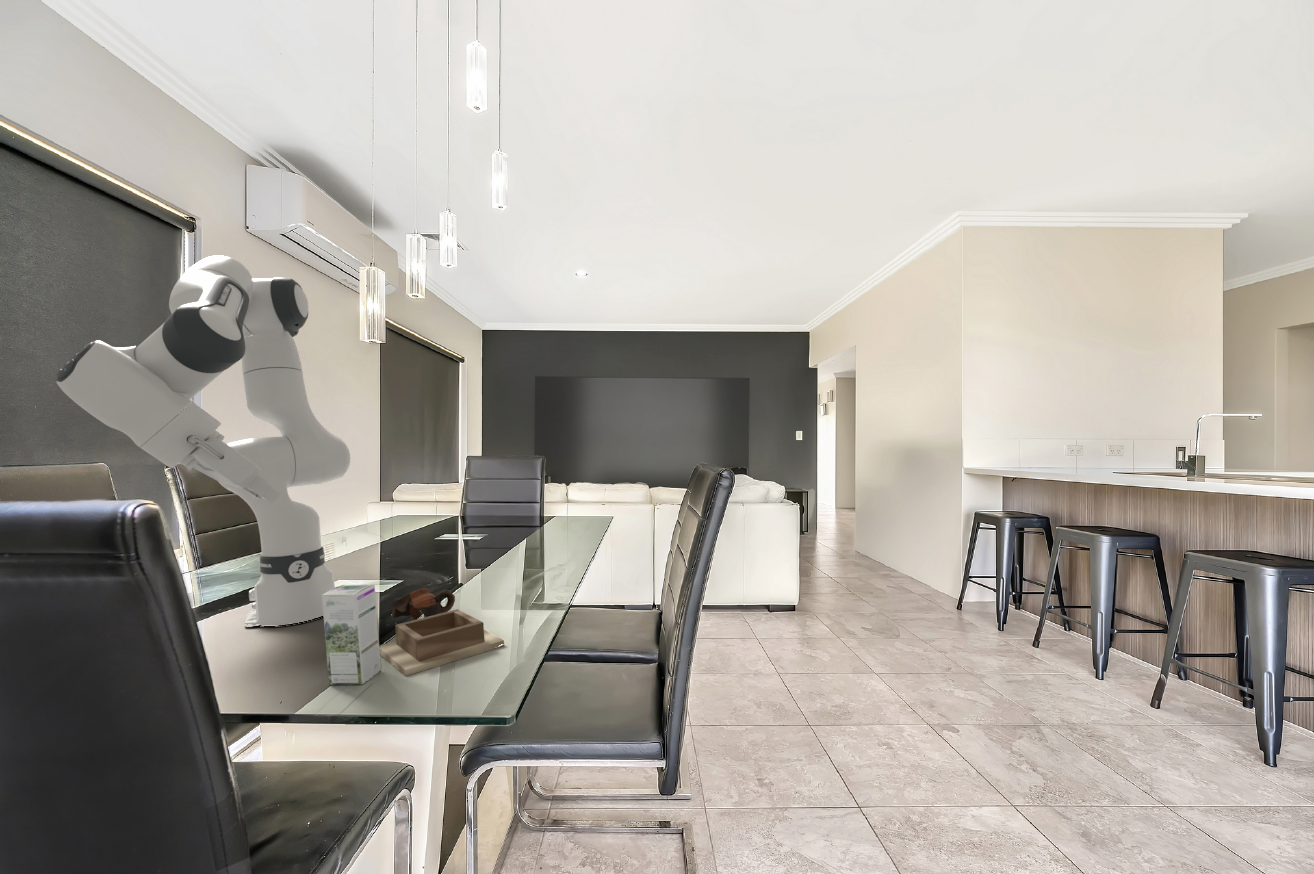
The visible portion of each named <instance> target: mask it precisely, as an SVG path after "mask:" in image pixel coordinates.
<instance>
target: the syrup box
mask: <svg viewBox="0 0 1314 874" xmlns="http://www.w3.org/2000/svg"><path fill="white" fill-rule="evenodd" d="M322 603H323V615H324V616H323V626H324V637H325V638H324V639H325V651H326V662H327V663H326V664H327V676H328V685H331V686H334V685H341V686H343V685H348V686H349V685H353V686H355V685H356V686H357V685H364V684H365V683H367V682H368V681H369V680H371V679H372V678H373V677H374V675H375V676H376V675H377V674H379V671H380V672H381V670H382V664H381V655H380V652H379V646H380V641H379V639H380V638H379V626H378V612H377V596H376V585H375V584H373V583H371V584H370V583H369V584H342V585H339V586H335V588H333V589H331V590H329V591H328V592H326V593H325V594H322ZM370 678H371V679H370ZM366 681H367V682H366Z"/></svg>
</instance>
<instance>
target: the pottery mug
mask: <svg viewBox="0 0 1314 874" xmlns="http://www.w3.org/2000/svg"><path fill="white" fill-rule="evenodd" d="M444 598H446V599H447V601H446V604H445V606H443V605H442V601H443V599H444ZM410 602H411V603H410ZM455 602H456V596H455V595H454V594H453V592H452V591H451V590H449V589H444V590H440V591H439V592H436V593H430V592H429V590H428V588H426V587H423V588H419V589H417V590H413V591H411V592H410V593H407V594H406V595H403V596H402V597H400V598H398V599H396V600H395V601H394V602H393V603H392V604H391V605H390V606H391V608H392V613H391V618H392V619H395V618H399V617H409V616H410V617H411V618H412V619H413V620H417V619H420V617H421V618H422V614H423V618H425V617H429V616H433V615H437V614H441V613H445V612H449V611H451V610H452V608H453V606H454V604H455Z"/></svg>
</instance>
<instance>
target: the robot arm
mask: <svg viewBox="0 0 1314 874" xmlns="http://www.w3.org/2000/svg"><path fill="white" fill-rule="evenodd" d="M168 301H169V302H168V307H169V310H170V315H169V316H168V317H167V319H166V320H165V321H164V322H163V323H162V324H161V325H160V326H159V327H158V328H157V329H156V330H155V331H153V332H152V333H151V334H150V335H149V336H148V337H146V338H145V339H144V340H143V341H142V342H141V343H139V345H137V346H136V345H134V346H133V345H132V346H125V347H115V346H112V345H110V344H108V343H107V342H104V341H102V340H98V339H96V340H93V341H90V342H89V343H87V344H85V345H84V346H82V347H81V348H80V349H79V350H78V351H77V352H76V353H75V354H74V355H73V356H72V357H71V358H70V359H69V360H68V361H67V362H66V363H65V364H64V365H63V366H62V367H61V368H60V369H59V370H58V372H57V374H56V384H57V386H58V387H59V389H61V391H62V392H63V393H64V394H65V395H66V396H67V397H68V398H69V399H70V400H72V401H73V402H74V403H75V404H76V405H78V406H79V407H80V408H82V409H83V410H84V411H85V412H87V413H88V414H90V415H91V416H92V417H94V418H96V419H97V420H98V421H100V422H101V423H103V425H105V426H107V427H109V428H111V429H114V430H117V431H118V432H119V431H120V432H121V433H123V434H125V435H127V437H129V438H130V440H132V442H133V443H134V445H136V446H137V447H138V448H140V449H141V450H143V451H144V452H146V453H147V454H149V455H150V456H151V457H153V458H155V459H156V460H157V461H159V462H160V463H162V464H164V465H165V466H167V467H168V468H169V469H173V468H174V467H177V465H178V464H181V465H182V466H184V467H186V468H187V469H188V470H191V469H195V470H196V471H198V472H200V473H202V474H204V475H206V476H207V477H209V478H211V479H213V480H215V481H216V482H218V483H219V485H221V486H222V487H223V488H224V489H226V490H228V491H229V492H232V493H234V494H235V495H237V496H239V497H240V498H241V499H242V500H243V501H244V502H245V503H247V505H248V506H249V507H250V510H251V511H252V512H253V514H254V515H255V518H256V522H257V525H258V532H259V537H260V538H259V539H260V547H261V554H260V556H259V562H258V563H259V571H260V573H261V575H260V577H259V580H257V582H256V584H255V585H254V588H251V589H250V590H249V591H248V598H249V600H248V601H251V602H252V601H253V603H252V604H251V607H252V611H248V613H247V615H246V618H245V622H244V625H245V624H247V625H248V624H252V625H256V624H260V625H285V624H289V623H298V624H300V623H299V622H302V621H307V622H309V621H308V620H311V619H313V618H318V617H320V616H323V617H324V615H323V603H322V594H325V593H326V592H328V591H329V590H331V589H333V588H336V586H335V577H334V572H333V570H331V569H329V568H327V567H326V566H325V562H326V560H325V559H326V558H325V556H326V554H325V549H324V547H323V546H322V539H321V526H320V525H321V524H320V522H321V521H320V516H319V514H318V512H317V511H316V510H315V509H314V508H313V507H311V506H309V505H307V504H304V503H302V502H298V501H295V500H292V499H291V498H290V495H289V492H288V488H291V487H292V488H294V487H303V486H310V485H319V484H323V483H328V482H332V481H334V480H337V479H341V478H343V477H344V476H345V474H347V471H348V469H349V467H350V465H351V454H350V450H349V447H348V445H347V444H346V442H345V441H343V439H342V438H340V437H338V436H337V435H335V434H333V433H331V431H329V430H328V429H326V428H325V427H324V426H323V424H321V423H320V421H319V420H318V419H317V418H316V416H315V415H314V413H313V411H312V409H311V406H310V404H309V400H308V395H307V391H306V387H305V379H304V375H303V367H302V362H301V358H300V355H299V354H300V353H299V351H298V348H297V345H296V342H295V340H294V337H296V336H297V335H298V333H299V332H300V331H299V330H300V329H301V328H302V327H304V325H305V323H306V322H307V319H308V318H309V317H308V316H309V302H308V301H309V300H308V297H307V295H306V293H305V292H304V289H303V288H302V286H301V285H300V284H299V283H298V282H297V281H296V280H294V279H293V278H291V277H290V278H289V277H281V276H274V277H273V278H253V277H252V274H251V273H250V271H249V270H248V269H247V268H246V266H244V264H243V263H242V262H240V261H239V260H237V259H235V258H232V257H230V256H226V255H225V256H224V255H211V256H207V257H205V258H203V259H201V260H199V261H198V262H196V263H194V264H193V265H192V266H190V267H189V268H188V269H187V270H186V271H185V272H183V274H182V275H181V276H180V277H179V278H178V280H177V281H176V283H175V285H174V286H173V288H172V289H171V292H170V296H169V300H168ZM240 360H241V370H242V376H243V385H244V392H245V399H246V407H247V409H248V410H249V412H250V413H251V414H252V415H253V416H255V418H257V419H259V420H261V421H263V422H267V423H269V424H271V425H273V426H274V427H275V428H276V429H277V430H278V431H279V433H280V434H281V435H282V436H271V437H270V436H269V437H268V436H267V437H251V438H250V437H249V438H244V439H240V440H235V441H230V442H228V443H226V442H224V439H225V436H224V435H223V434H221V433H220V432H218V431H217V429H218V428H219V427H220V426H221V424H222V423H221V421H219V420H218V419H217V418H215V417H214V416H213V415H211V414H210V413H208V412H207V411H206V410H204V409H203V408H202V407H200V406H199V405H197V404H196V403H195V402H193V401H192V400H191V399H193V398H194V397H195V396H196V395H197V394H198V393H199V392H201V391H202V390H203V389H205V387H207V386H208V385H209V384H210V383H211V382H213V381H214V380H215V379H216V378H217V377H218V376H220V375H221V374H222V373H223V372H225V371H226V370H228V369H229V368H231V367H232V366H233V365H235V364H236V363H238V362H239V361H240ZM249 612H251V613H249ZM248 614H250V615H248ZM318 619H319V618H318ZM311 621H312V620H311Z"/></svg>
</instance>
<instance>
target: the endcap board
mask: <svg viewBox="0 0 1314 874" xmlns="http://www.w3.org/2000/svg"><path fill="white" fill-rule="evenodd" d="M484 626H485V625H484V622H483V621H481V620H479V619H477V618H475V617H474V616H472V615H470V614H468V613H466V612H464V611H462V610H460V609H458V608H456V609H454V610H452V609H451V610H449V611H448V612H445V613H441V614H437V615H433V616H429V617H425V618H424V617H421V618H418V619H417V620H414V619H413V620H409V621H406V622H405V621H404V622H402V623H398V624H395V625H394V628H395V641H392V642H388V643H384V644H379V652H380V654H381V655H380V656H381V657H382V658H384V657H385V658H384V659H385V660H388V663H390V664H391V665H392V666H393V665H394V666H395V667H394V666H393V667H394V668H396V669H397V670H398V671H399V672H400V673H401V674H402V675H404V676H405V677H407V676H412V675H414V674H417V673H421V672H423V671H426V670H430V669H433V668H437V667H440V666H443V665H446V664H449V663H454V662H457V661H459V660H463V659H466V658H469V657H472V656H473V657H474V656H476V655H479V654H482V653H486V652H488V651H492V650H494V649H493V648H495V647H498V646H499V645H501V644H504V645H505V639H503V638H501V637H499V636H497V635H495V634H493V633H491V632H490V631H488V630H485V627H484ZM491 649H492V650H491ZM485 651H486V652H485Z"/></svg>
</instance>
